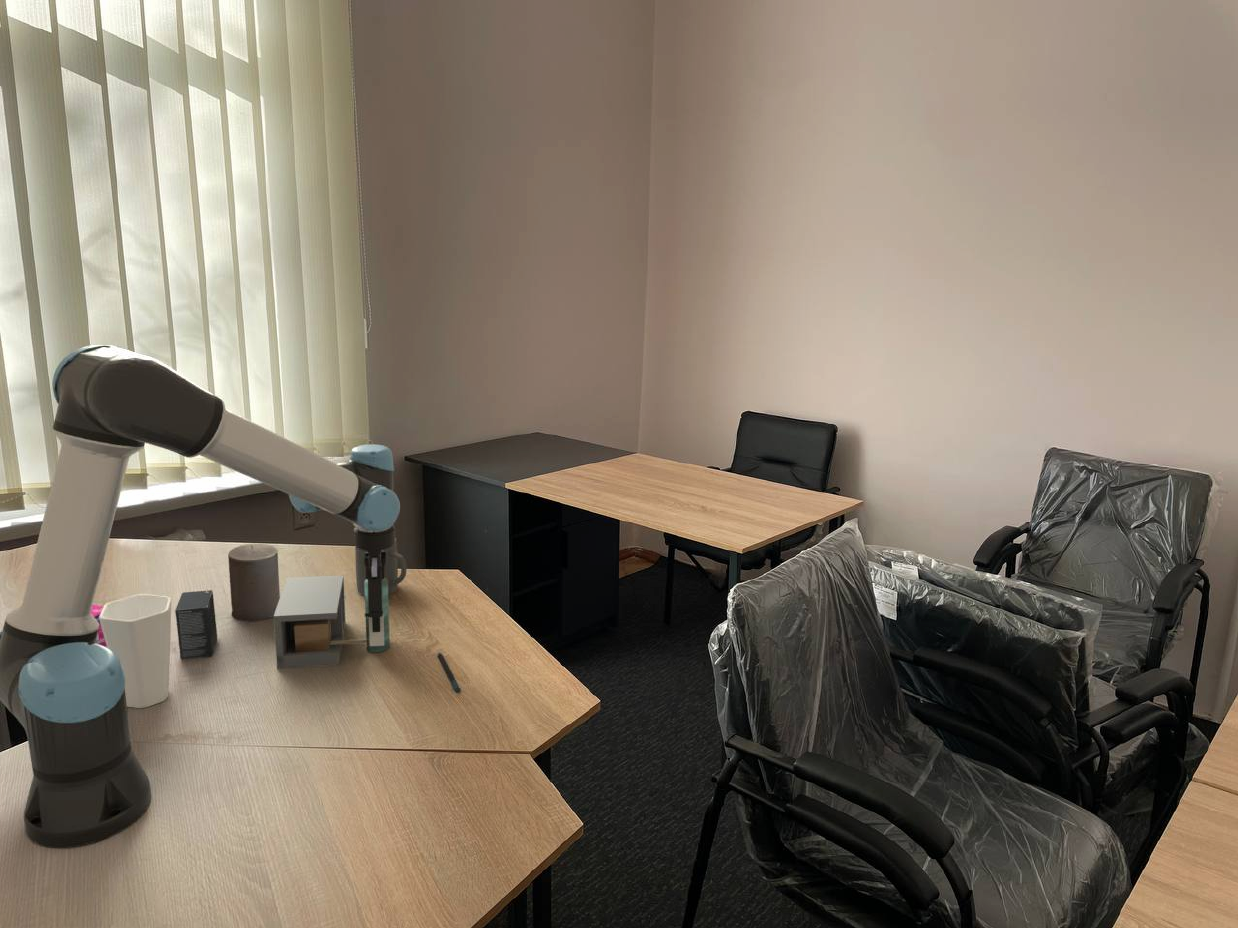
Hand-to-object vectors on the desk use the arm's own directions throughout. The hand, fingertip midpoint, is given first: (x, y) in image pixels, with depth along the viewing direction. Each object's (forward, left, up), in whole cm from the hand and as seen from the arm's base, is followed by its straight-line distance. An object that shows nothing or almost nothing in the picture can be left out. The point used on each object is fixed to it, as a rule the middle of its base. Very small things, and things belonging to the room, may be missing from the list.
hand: (377, 634), depth 171 cm
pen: (-12, -13, -3) cm, 18 cm away
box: (+4, +33, -3) cm, 34 cm away
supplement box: (-1, +50, -3) cm, 51 cm away
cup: (-13, +38, -3) cm, 41 cm away
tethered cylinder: (0, +6, -3) cm, 7 cm away
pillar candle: (+20, +25, -3) cm, 33 cm away
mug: (+27, -1, -3) cm, 27 cm away
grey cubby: (+3, +12, -3) cm, 13 cm away
